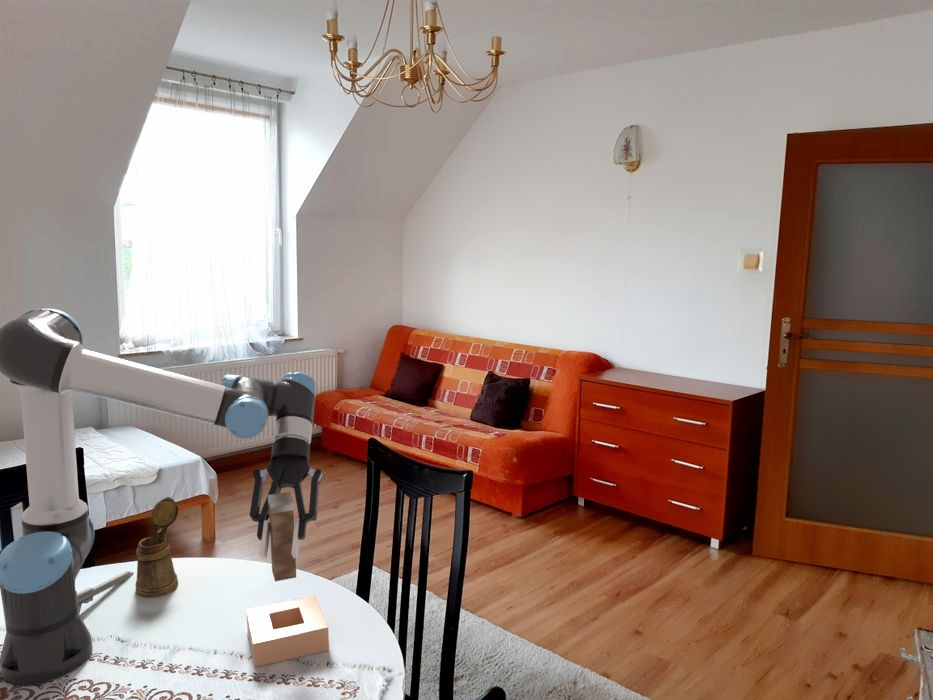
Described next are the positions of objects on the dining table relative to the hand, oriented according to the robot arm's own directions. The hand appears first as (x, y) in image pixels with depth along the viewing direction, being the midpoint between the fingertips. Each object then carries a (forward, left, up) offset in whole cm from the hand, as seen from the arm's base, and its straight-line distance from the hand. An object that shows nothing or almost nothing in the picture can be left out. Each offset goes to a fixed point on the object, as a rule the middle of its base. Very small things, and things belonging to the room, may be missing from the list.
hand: (278, 556), depth 134 cm
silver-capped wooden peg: (+1, +3, -6) cm, 7 cm away
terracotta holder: (+1, +3, -20) cm, 21 cm away
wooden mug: (-22, +36, -21) cm, 47 cm away
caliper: (-34, +35, -21) cm, 53 cm away
